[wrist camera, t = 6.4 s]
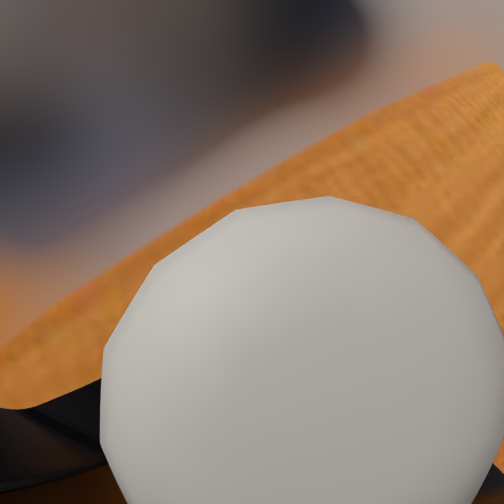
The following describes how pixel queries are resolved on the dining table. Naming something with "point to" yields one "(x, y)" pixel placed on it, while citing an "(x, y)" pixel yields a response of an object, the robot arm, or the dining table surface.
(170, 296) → the salt shaker
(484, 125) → the dining table surface
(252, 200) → the dining table surface
